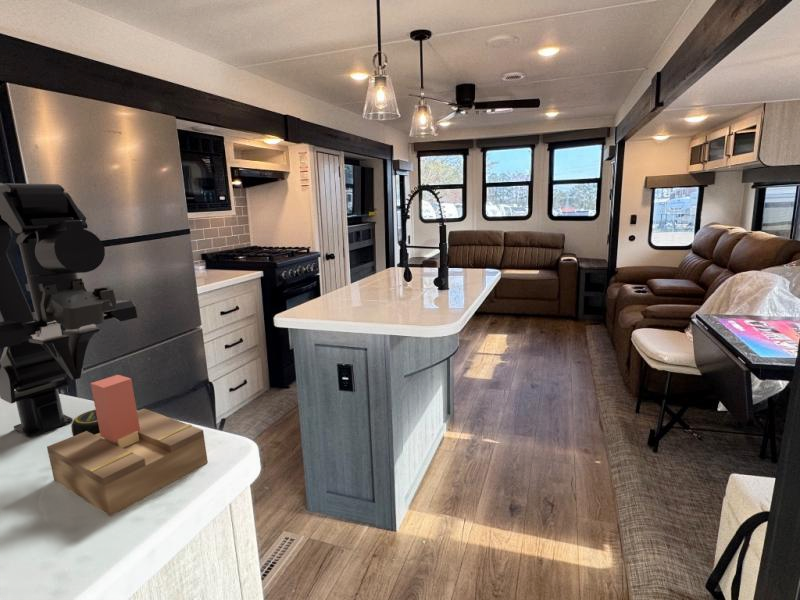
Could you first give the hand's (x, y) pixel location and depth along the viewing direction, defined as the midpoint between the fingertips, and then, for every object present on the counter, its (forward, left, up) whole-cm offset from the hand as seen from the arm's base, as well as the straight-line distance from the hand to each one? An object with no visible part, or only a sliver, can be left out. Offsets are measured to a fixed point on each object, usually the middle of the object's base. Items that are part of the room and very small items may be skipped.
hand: (75, 378), depth 67 cm
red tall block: (+11, 0, -7) cm, 13 cm away
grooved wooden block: (+12, 0, -11) cm, 17 cm away
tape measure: (-3, +4, -12) cm, 13 cm away
